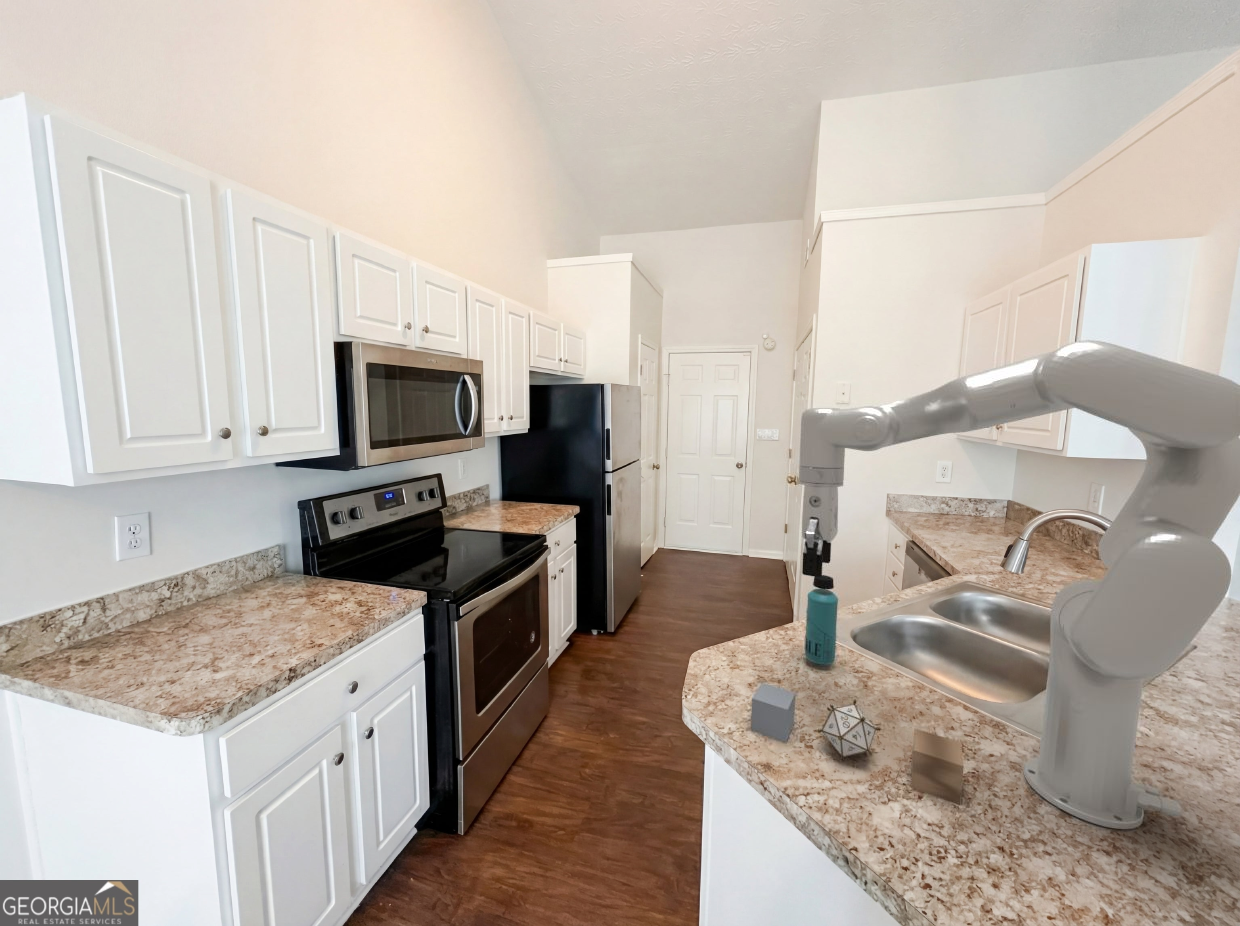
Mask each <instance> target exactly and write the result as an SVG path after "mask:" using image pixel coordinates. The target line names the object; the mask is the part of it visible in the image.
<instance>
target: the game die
mask: <svg viewBox="0 0 1240 926" xmlns="http://www.w3.org/2000/svg"><path fill="white" fill-rule="evenodd" d="M857 701H858V700H857V698H855V699H853V700H852V704H848V705H843V706H839V707H835V706H834V705H833V704H829V707H828V706H827V707H826V709H827V711H828V712H829V713H828V715H827V717H826V719H825V722H824V724H823V726H822V728H818V729H816V732H817V733H822V734H823V735H824V736H825V737H826V739H827V740H828V741H829V742H830V744H832V746H833V747H834V749H835V750H836V751H837V752H838V754H839V755H840V756H841V757H840V759H839V760H840V762H841V763H842V762H844V760H845V759H844V758H846V757H850V756H854V755H859V754H863V755H864V756H868V755H870V756H873V752H872V751H871V750H870V748H871V745H872V743H873V741H874V737H875V734H876V731H877V732H880V731H881V730H882V728H881V727H880V726H878V727H875V725H873V723H872V722H871V721H870V719H868V718H867V716H866V715H865V714H864V713H863V712H862V711H861V709H859V707H858V706H857Z"/></svg>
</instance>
